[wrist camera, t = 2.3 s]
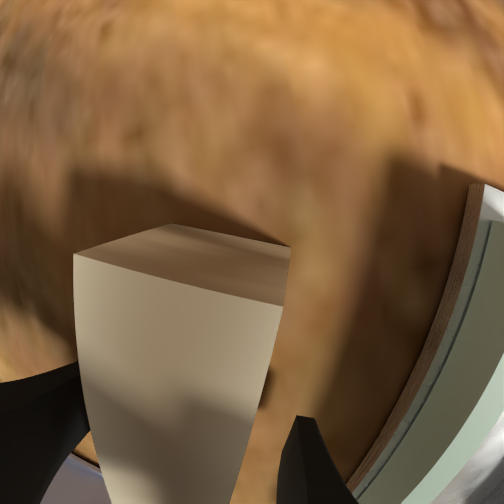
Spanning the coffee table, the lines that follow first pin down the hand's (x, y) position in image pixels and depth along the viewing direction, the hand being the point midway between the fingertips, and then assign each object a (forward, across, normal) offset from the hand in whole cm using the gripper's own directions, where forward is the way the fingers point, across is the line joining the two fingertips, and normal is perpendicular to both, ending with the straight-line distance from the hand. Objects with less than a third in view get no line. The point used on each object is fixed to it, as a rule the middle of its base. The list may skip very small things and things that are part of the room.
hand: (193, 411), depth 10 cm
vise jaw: (0, -9, 0) cm, 9 cm away
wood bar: (+2, 0, 0) cm, 2 cm away
